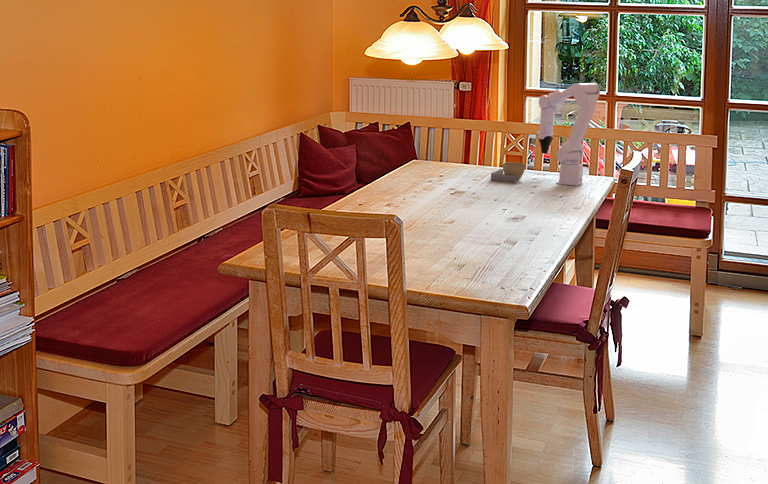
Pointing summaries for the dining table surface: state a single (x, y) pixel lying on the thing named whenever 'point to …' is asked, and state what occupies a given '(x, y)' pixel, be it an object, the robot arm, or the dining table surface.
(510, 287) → the dining table surface
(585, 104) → the robot arm
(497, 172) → the keeper bracket
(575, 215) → the dining table surface
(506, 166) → the flower pot
